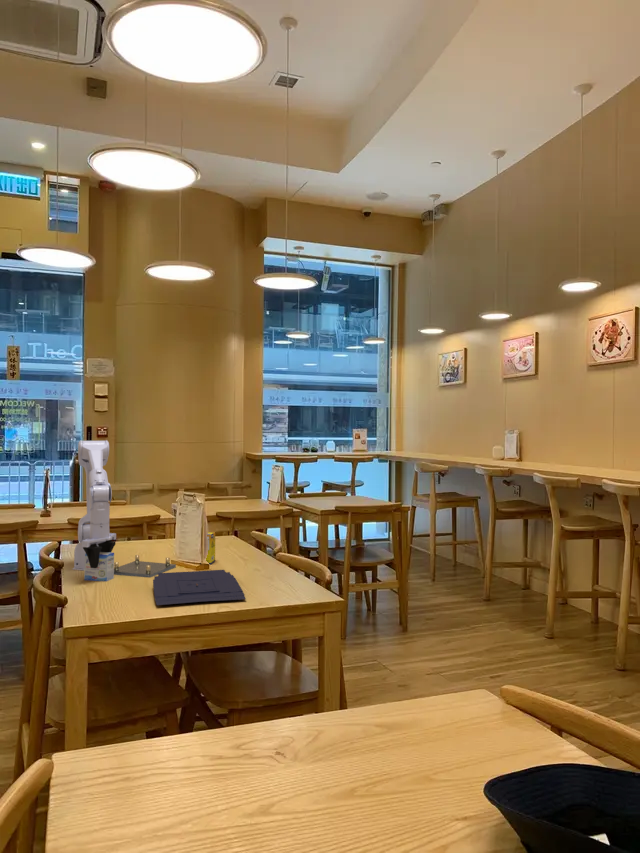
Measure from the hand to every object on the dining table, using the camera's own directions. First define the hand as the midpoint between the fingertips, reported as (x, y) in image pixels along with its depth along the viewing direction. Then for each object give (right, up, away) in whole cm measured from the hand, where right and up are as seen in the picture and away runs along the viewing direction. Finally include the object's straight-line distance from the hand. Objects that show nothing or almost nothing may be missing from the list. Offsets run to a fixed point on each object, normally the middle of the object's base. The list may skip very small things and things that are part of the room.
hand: (99, 566), depth 196 cm
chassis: (+10, -5, +13) cm, 17 cm away
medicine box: (0, -5, 0) cm, 5 cm away
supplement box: (+29, -5, +26) cm, 39 cm away
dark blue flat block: (+34, -5, -15) cm, 37 cm away
